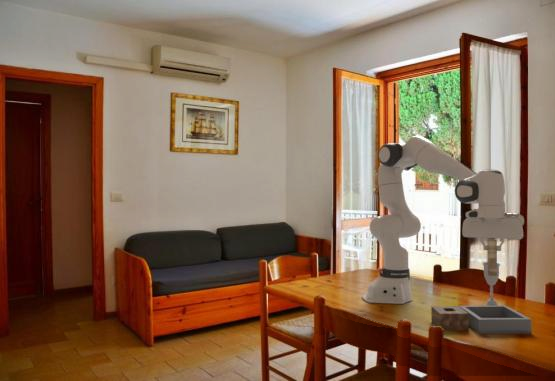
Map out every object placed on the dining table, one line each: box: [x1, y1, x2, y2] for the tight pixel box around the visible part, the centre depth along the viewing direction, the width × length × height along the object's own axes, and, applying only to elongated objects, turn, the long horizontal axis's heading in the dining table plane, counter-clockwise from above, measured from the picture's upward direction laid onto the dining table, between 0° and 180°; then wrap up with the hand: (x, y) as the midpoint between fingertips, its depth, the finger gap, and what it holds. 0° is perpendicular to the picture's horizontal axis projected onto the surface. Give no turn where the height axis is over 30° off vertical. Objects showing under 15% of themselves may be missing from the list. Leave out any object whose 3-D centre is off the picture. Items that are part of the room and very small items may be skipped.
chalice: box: [482, 261, 501, 306], centre depth 189 cm, size 7×7×18 cm
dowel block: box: [430, 305, 470, 331], centre depth 162 cm, size 10×10×6 cm
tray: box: [458, 304, 533, 335], centre depth 162 cm, size 18×18×5 cm
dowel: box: [487, 238, 498, 276], centre depth 162 cm, size 3×3×13 cm
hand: (492, 250), depth 162 cm, fingers closed on dowel, 3 cm apart
